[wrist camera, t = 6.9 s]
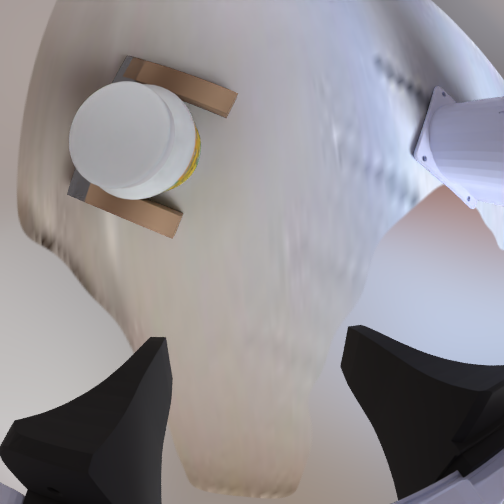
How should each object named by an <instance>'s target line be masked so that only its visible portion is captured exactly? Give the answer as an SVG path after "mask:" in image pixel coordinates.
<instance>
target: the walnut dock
mask: <svg viewBox="0 0 504 504" xmlns="http://www.w3.org/2000/svg"><path fill="white" fill-rule="evenodd" d="M122 81H131V82H137V83H141V84H150V85H156V86H160V87H163V88H165V89H167V90H169V91H171V92H172V93H174V94H175V95H177V96H178V97H179V98H180V99H181V100H182V101H185V102H187V103H190V104H193V105H195V106H198V107H200V108H203V109H205V110H208V111H210V112H213V113H215V114H218V115H220V116H223V117H225V118H227V116H228V114H229V112H230V110H231V108H232V106H233V104H234V102H235V100H236V98H237V95H238V93H236V92H233V91H231V90H229V89H226V88H224V87H221V86H219V85H216V84H214V83H211V82H208V81H206V80H203V79H200V78H198V77H195V76H192V75H189V74H186V73H184V72H181V71H178V70H175V69H172V68H168V67H165V66H162V65H159V64H156V63H152V62H149V61H145V60H142V59H138V58H135V57H131V56H127V57H126V59H125V60H124V62H123V64H122V66H121V67H120V69H119V71H118V73H117V75H116V77H115V78H114V80H113V82H112V83H116V82H122ZM67 195H70V196H72V197H74V198H77V199H79V200H81V201H84V202H86V203H88V204H91V205H93V206H95V207H98V208H100V209H102V210H105V211H107V212H110V213H112V214H114V215H117V216H119V217H121V218H124V219H126V220H129V221H131V222H133V223H136V224H138V225H141V226H143V227H145V228H148V229H150V230H153V231H155V232H158V233H160V234H162V235H165V236H167V237H170V238H173V237H174V235H175V233H176V231H177V228H178V225H179V223H180V220H181V218H182V216H183V213H181V212H179V211H176V210H174V209H171V208H169V207H166V206H164V205H162V204H159V203H157V202H154V201H152V200H149V199H147V198H145V199H138V200H130V199H123V198H119V197H116V196H113V195H111V194H109V193H107V192H106V191H104V190H103V189H101V188H100V187H99V186H97V185H95V184H92V183H90V182H89V181H88V180H86V179H85V178H84V177H83V176H82V175H81V174H80V173H79V172H78V170H77V169H76V168H75V171H74V174H73V177H72V180H71V183H70V186H69V190H68V193H67Z"/></svg>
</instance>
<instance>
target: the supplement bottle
mask: <svg viewBox="0 0 504 504" xmlns="http://www.w3.org/2000/svg"><path fill="white" fill-rule="evenodd" d="M69 150H70V155H71V158H72V161H73V163H74V166H75V167H76V169H77V170H78V172H79V173H80V174H81V175H82V176H83V177H84V178H85V179H86V180H88V181H89V182H90V183H92V184H95V185H97V186H99V187H100V188H101V189H103V190H104V191H106V192H107V193H109V194H111V195H113V196H116V197H119V198H123V199H130V200H138V199H145V198H149V197H153V196H155V195H158V194H160V193H162V192H165V191H168V190H170V189H173V188H175V187H177V186H179V185H181V184H182V183H184V182H185V181H186V180H187V179H188V178H189V177H190V176H191V175H192V174H193V172H194V171H195V169H196V167H197V165H198V162H199V158H200V152H201V141H200V136H199V133H198V130H197V128H196V126H195V123H194V121H193V118H192V116H191V113H190V112H189V110H188V108H187V106H186V105H185V104H184V102H183V101H182V100H181V99H180V98H179V97H178V96H177V95H175V94H174V93H172V92H171V91H169V90H167V89H165V88H163V87H160V86H156V85H150V84H141V83H137V82H131V81H122V82H116V83H112V84H109V85H107V86H104V87H102V88H100V89H99V90H97V91H96V92H94V93H93V94H92V95H91V96H89V97H88V98H87V99H86V100H85V101H84V103H83V104H82V105H81V106H80V108H79V109H78V111H77V113H76V115H75V117H74V119H73V122H72V125H71V128H70V134H69Z"/></svg>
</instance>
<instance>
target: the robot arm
mask: <svg viewBox="0 0 504 504" xmlns="http://www.w3.org/2000/svg"><path fill="white" fill-rule="evenodd" d="M442 94H443V95H442ZM422 157H424V161H423V159H422ZM414 158H415V159H416V161H418V162H419V163H420V164H421V165H423V166H424V167H425V168H426V169H428V170H429V171H430V172H431V173H432V174H433V175H435V176H436V177H437V178H438V179H439V180H440V181H442V182H443V183H444V184H445V185H446V186H447V187H448V188H449V189H451V190H452V191H453V192H454V193H455V194H456V195H457V196H458V197H459V198H460V199H461V200H462V201H463V202H464V203H465V204H466V205H467V206H468V207H470V208H471V209H474V208H475V207H476V204H477V201H481V202H486V203H491V204H496V205H500V206H504V97H496V98H488V99H481V100H475V101H468V102H462V103H457V102H456V101H455V100H454V99H453V98H452V97H451V96H450V95H449V94H448V93H447V92H445V91H444V90H443V89H442V88H441V87H440V86H437V87H435V88H434V91H433V95H432V98H431V102H430V105H429V109H428V112H427V115H426V118H425V121H424V125H423V128H422V131H421V134H420V137H419V140H418V143H417V145H416V148H415V151H414ZM341 369H342V371H343V374H344V376H345V379H346V381H347V384H348V386H349V387H350V389H351V391H352V393H353V394H354V396H355V397H356V399H357V401H358V402H359V404H360V406H361V407H362V409H363V410H364V412H365V414H366V415H367V417H368V419H369V420H370V422H371V424H372V426H373V427H374V430H375V432H376V434H377V436H378V439H379V441H380V443H381V446H382V448H383V451H384V453H385V456H386V459H387V462H388V464H389V468H390V471H391V474H392V477H393V481H394V484H395V489H396V493H397V497H398V501H396V502H394V503H391V504H502V502H504V365H501V366H499V365H496V366H487V365H476V364H468V363H462V362H457V361H452V360H447V359H443V358H440V357H436V356H433V355H430V354H427V353H424V352H422V351H419V350H416V349H414V348H412V347H409V346H407V345H405V344H403V343H400V342H398V341H396V340H394V339H392V338H390V337H388V336H385V335H383V334H381V333H379V332H377V331H375V330H373V329H370V328H368V327H366V326H362V325H357V326H349V327H348V331H347V336H346V341H345V346H344V352H343V357H342V361H341ZM172 380H173V378H172V373H171V367H170V361H169V354H168V348H167V341H166V337H150V338H149V339H148V340H147V341H146V342H145V343H144V344H143V345H142V346H141V347H140V348H139V349H138V350H137V351H136V352H135V353H134V354H133V355H132V356H131V357H130V358H129V359H128V360H127V361H126V362H125V363H124V364H123V365H122V366H121V367H120V368H118V369H117V370H116V371H115V372H114V373H113V374H111V375H110V376H109V377H108V378H107V379H105V380H104V381H103V382H101V383H100V384H99V385H97V386H96V387H94V388H93V389H91V390H90V391H88V392H86V393H85V394H83V395H81V396H79V397H77V398H76V399H74V400H72V401H70V402H69V403H66V404H64V405H62V406H59V407H57V408H55V409H52V410H49V411H47V412H44V413H41V414H38V415H34V416H31V417H27V418H23V419H19V420H15V421H14V423H13V424H12V426H11V428H10V429H9V431H8V433H7V435H6V437H5V438H4V440H3V442H2V444H1V446H0V456H1V458H2V461H3V462H4V463H5V465H6V466H7V467H8V469H9V470H10V471H11V472H12V473H13V474H14V475H15V476H16V478H18V480H19V481H20V482H21V483H22V484H23V485H24V486H25V487H26V488H27V489H28V490H27V493H26V496H24V495H23V494H21V493H20V492H18V491H16V490H14V489H12V488H10V487H8V486H6V485H4V484H2V483H0V504H161V463H162V449H163V442H164V436H165V431H166V425H167V420H168V415H169V409H170V404H171V396H172Z"/></svg>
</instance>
